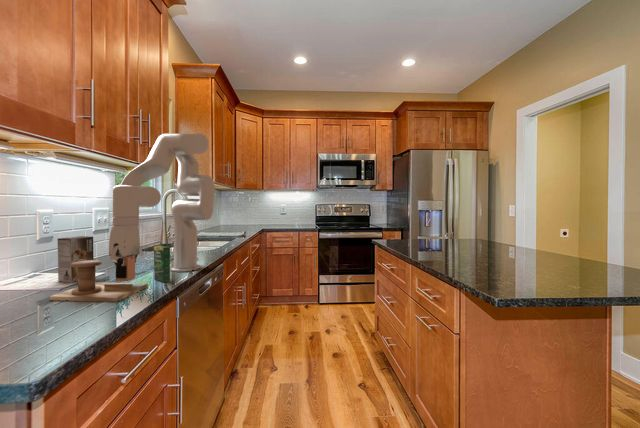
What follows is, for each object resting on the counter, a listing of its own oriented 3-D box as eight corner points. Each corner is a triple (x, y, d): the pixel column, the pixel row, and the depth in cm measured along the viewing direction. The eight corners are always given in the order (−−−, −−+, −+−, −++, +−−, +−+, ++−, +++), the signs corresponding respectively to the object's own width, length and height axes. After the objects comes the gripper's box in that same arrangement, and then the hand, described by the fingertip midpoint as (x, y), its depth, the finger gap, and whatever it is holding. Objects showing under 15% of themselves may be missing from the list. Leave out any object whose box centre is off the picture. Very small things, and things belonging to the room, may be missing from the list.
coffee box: (80, 276, 124) (80, 235, 124) (94, 277, 123) (94, 236, 122) (57, 281, 115) (57, 238, 115) (71, 282, 114) (71, 238, 113)
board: (91, 285, 110) (91, 276, 110) (148, 286, 110) (148, 277, 110) (49, 300, 93) (49, 289, 93) (116, 301, 93) (116, 291, 93)
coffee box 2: (153, 279, 121) (153, 245, 121) (160, 278, 124) (160, 244, 123) (162, 282, 116) (162, 247, 116) (170, 281, 118) (170, 247, 118)
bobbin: (83, 288, 103) (83, 260, 102) (107, 288, 103) (107, 260, 102) (65, 294, 95) (64, 264, 95) (90, 295, 95) (89, 264, 95)
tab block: (123, 278, 108) (123, 254, 108) (135, 278, 108) (135, 254, 108) (115, 280, 104) (115, 256, 104) (127, 281, 104) (128, 256, 103)
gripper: (130, 220, 114) (129, 271, 114) (97, 223, 97) (96, 282, 97) (150, 221, 114) (150, 271, 114) (121, 223, 97) (120, 282, 97)
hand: (125, 275), depth 106 cm, fingers closed on tab block, 4 cm apart
